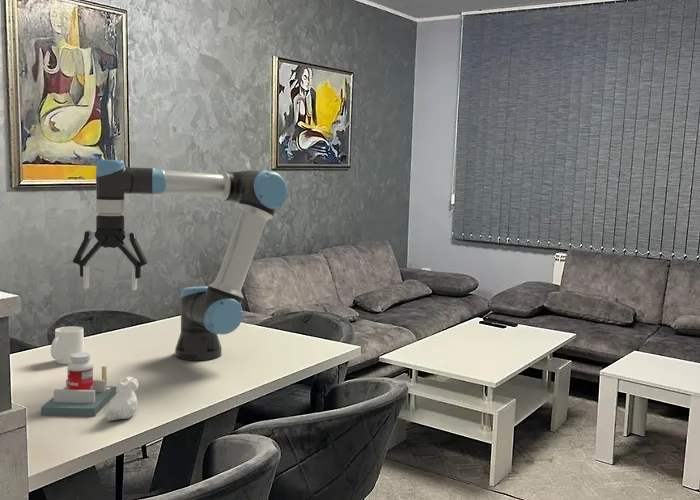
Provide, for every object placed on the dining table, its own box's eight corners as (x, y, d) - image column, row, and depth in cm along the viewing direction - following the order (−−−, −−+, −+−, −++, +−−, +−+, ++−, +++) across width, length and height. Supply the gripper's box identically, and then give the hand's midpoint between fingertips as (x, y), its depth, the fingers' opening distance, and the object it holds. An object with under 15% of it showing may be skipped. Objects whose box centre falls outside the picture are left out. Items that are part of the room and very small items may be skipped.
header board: (116, 393, 191) (116, 364, 190) (94, 416, 173) (94, 384, 172) (67, 392, 190) (67, 363, 190) (41, 415, 173) (40, 383, 172)
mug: (62, 369, 212) (62, 335, 211) (40, 365, 215) (40, 332, 213) (89, 359, 223) (89, 328, 222) (68, 356, 226) (68, 325, 225)
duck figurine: (112, 434, 168) (140, 400, 166) (88, 413, 168) (115, 379, 166) (134, 417, 180) (160, 385, 178) (111, 398, 180) (137, 366, 178)
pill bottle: (63, 396, 181) (62, 354, 180) (85, 391, 186) (85, 350, 185) (75, 401, 177) (74, 359, 176) (97, 396, 182) (97, 354, 181)
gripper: (158, 215, 202) (157, 288, 204) (70, 212, 201) (70, 285, 203) (151, 216, 194) (151, 292, 197) (60, 214, 193) (61, 289, 196)
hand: (110, 289), depth 200 cm, fingers open, 13 cm apart
